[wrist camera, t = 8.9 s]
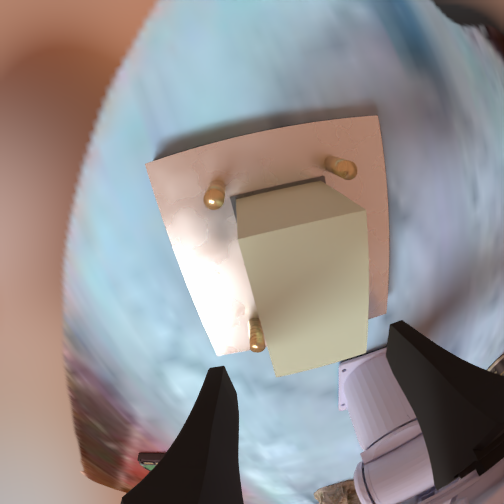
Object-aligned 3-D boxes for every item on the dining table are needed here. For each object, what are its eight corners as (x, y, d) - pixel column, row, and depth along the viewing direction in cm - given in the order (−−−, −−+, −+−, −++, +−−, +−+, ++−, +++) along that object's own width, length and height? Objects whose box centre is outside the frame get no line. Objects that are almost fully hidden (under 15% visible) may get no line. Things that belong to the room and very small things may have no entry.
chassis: (378, 303, 21) (399, 332, 18) (218, 343, 22) (216, 379, 18) (366, 115, 15) (399, 115, 11) (152, 161, 16) (129, 170, 12)
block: (333, 293, 19) (365, 352, 13) (264, 310, 19) (276, 377, 13) (320, 180, 15) (366, 209, 10) (235, 199, 15) (237, 239, 10)
